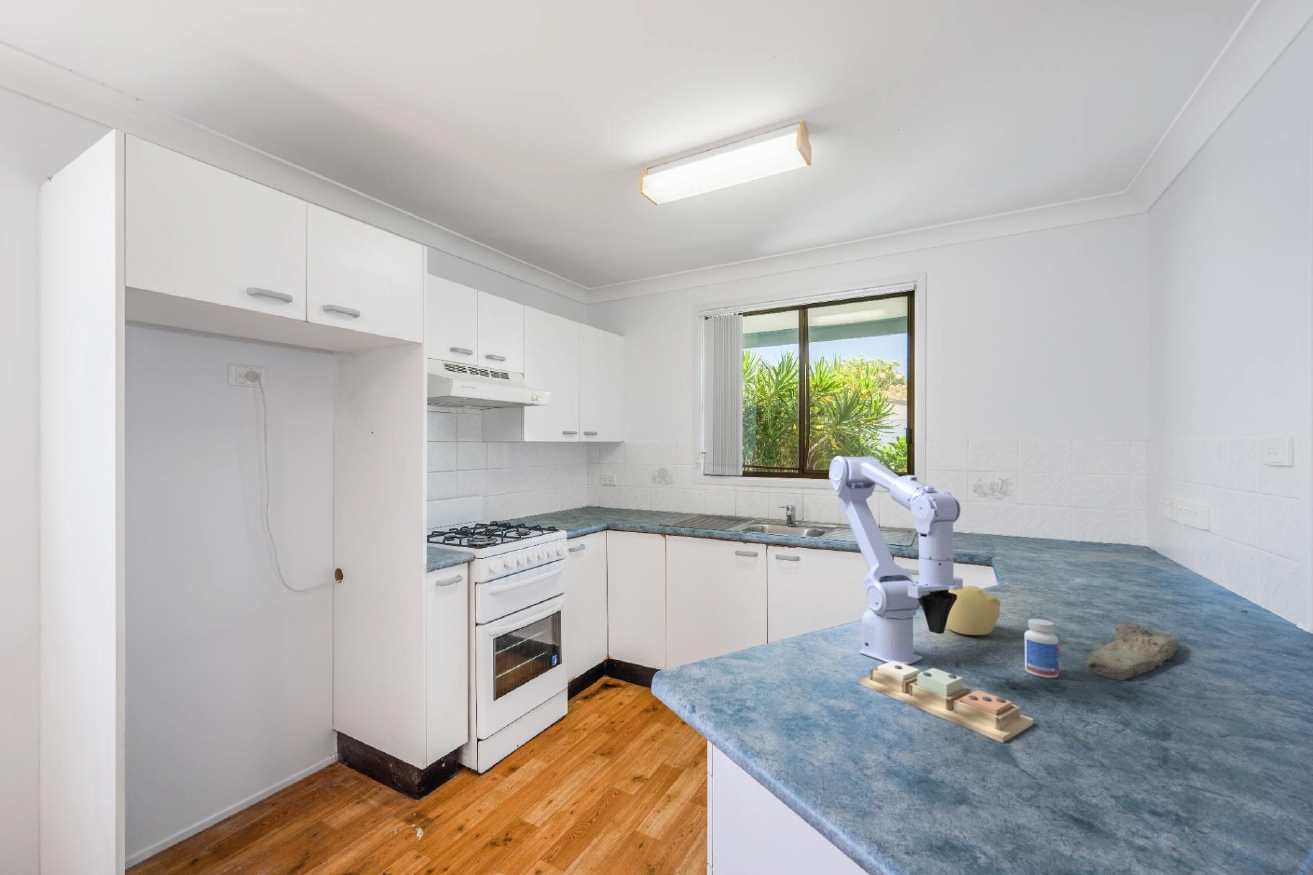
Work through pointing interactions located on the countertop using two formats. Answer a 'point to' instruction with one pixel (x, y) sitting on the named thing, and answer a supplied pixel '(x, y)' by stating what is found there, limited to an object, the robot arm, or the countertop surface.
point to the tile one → (898, 670)
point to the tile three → (987, 702)
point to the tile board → (950, 706)
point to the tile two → (939, 682)
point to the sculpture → (973, 611)
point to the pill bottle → (1041, 649)
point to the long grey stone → (1132, 652)
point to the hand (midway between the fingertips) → (936, 632)
